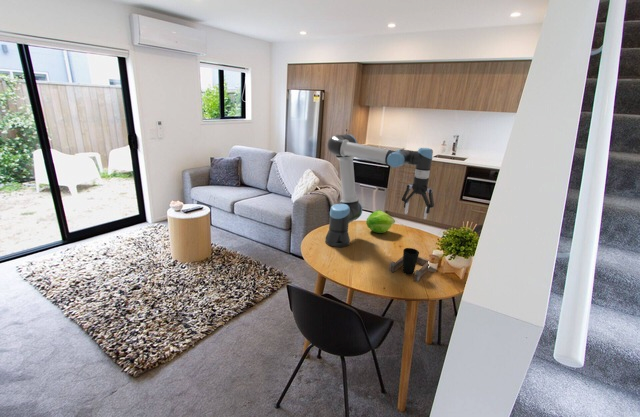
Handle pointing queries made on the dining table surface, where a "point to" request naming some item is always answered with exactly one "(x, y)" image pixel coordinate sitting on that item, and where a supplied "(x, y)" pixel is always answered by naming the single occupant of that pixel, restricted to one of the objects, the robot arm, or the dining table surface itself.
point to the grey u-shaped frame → (418, 274)
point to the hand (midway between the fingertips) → (415, 216)
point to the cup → (409, 260)
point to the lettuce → (379, 222)
